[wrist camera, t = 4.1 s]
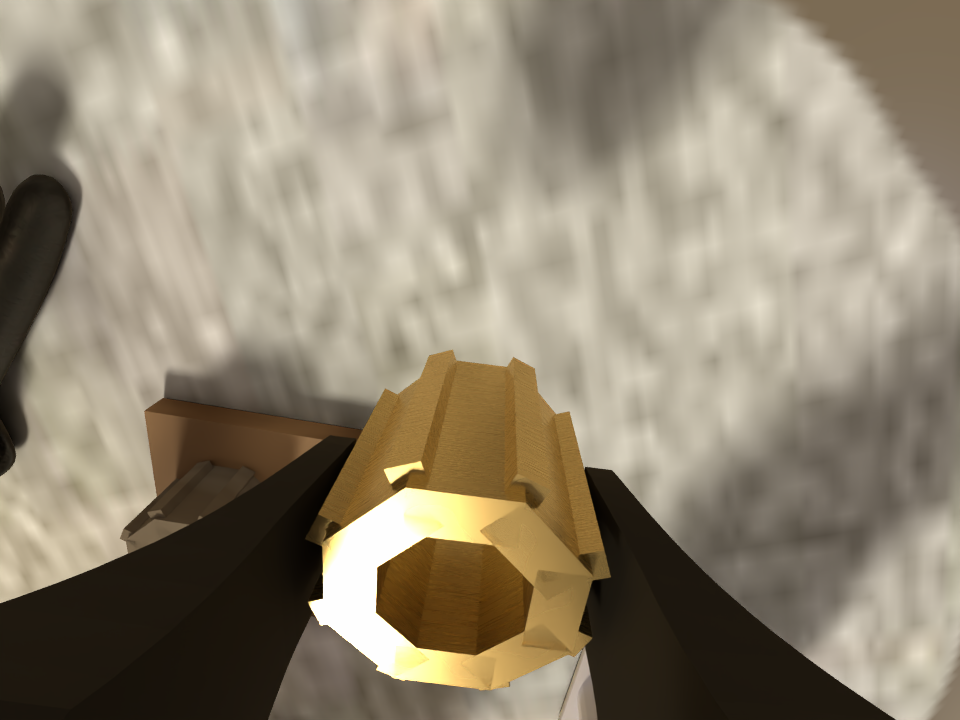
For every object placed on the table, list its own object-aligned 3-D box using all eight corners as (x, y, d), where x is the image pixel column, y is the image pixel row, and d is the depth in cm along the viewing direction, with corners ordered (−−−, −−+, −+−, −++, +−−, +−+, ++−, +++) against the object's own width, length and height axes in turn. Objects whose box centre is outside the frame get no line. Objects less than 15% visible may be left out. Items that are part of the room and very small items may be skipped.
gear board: (512, 454, 21) (513, 538, 17) (476, 620, 26) (469, 725, 21) (163, 398, 21) (63, 466, 17) (185, 575, 26) (112, 670, 21)
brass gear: (587, 363, 12) (641, 497, 7) (551, 526, 14) (574, 713, 9) (379, 337, 12) (295, 454, 7) (374, 503, 14) (306, 679, 9)
